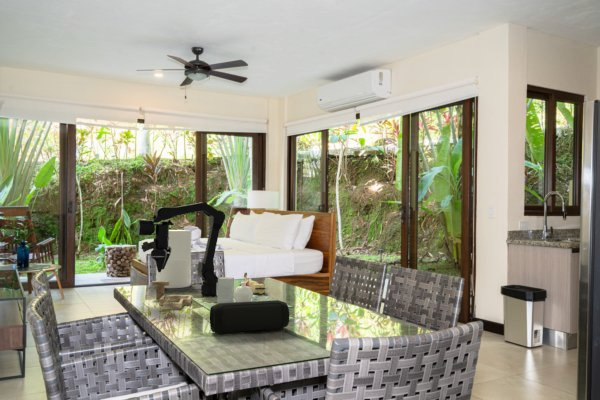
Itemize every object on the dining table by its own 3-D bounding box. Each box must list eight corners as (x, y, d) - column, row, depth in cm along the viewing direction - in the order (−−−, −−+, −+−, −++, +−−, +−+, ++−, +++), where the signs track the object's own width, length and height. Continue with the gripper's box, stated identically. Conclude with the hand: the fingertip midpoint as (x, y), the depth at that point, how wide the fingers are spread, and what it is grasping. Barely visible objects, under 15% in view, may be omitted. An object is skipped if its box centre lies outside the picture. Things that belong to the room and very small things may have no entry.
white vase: (249, 315, 188) (249, 284, 188) (230, 314, 189) (230, 283, 189) (254, 311, 195) (255, 281, 195) (236, 310, 197) (237, 280, 197)
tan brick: (168, 298, 219) (169, 281, 219) (167, 299, 216) (168, 282, 216) (152, 298, 218) (153, 281, 218) (151, 299, 215) (151, 282, 215)
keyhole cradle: (191, 300, 214) (192, 295, 214) (187, 309, 196) (187, 303, 196) (162, 300, 212) (162, 295, 212) (155, 309, 195) (156, 303, 195)
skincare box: (233, 306, 204) (234, 277, 204) (231, 308, 200) (232, 279, 200) (219, 305, 205) (220, 276, 205) (216, 307, 201) (217, 278, 201)
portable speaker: (280, 325, 174) (281, 297, 174) (290, 332, 165) (290, 302, 165) (208, 330, 165) (209, 300, 165) (214, 338, 156) (215, 306, 156)
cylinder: (153, 283, 257) (154, 229, 257) (186, 281, 264) (187, 229, 264) (158, 288, 241) (160, 231, 241) (193, 287, 248) (195, 231, 249)
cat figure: (235, 290, 251) (251, 294, 228) (235, 272, 252) (251, 275, 229) (253, 289, 255) (271, 293, 232) (253, 272, 256) (271, 274, 233)
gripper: (147, 233, 225) (146, 267, 225) (138, 236, 207) (137, 273, 207) (172, 234, 227) (171, 268, 226) (165, 236, 208) (165, 273, 208)
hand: (161, 270), depth 217 cm, fingers open, 9 cm apart
